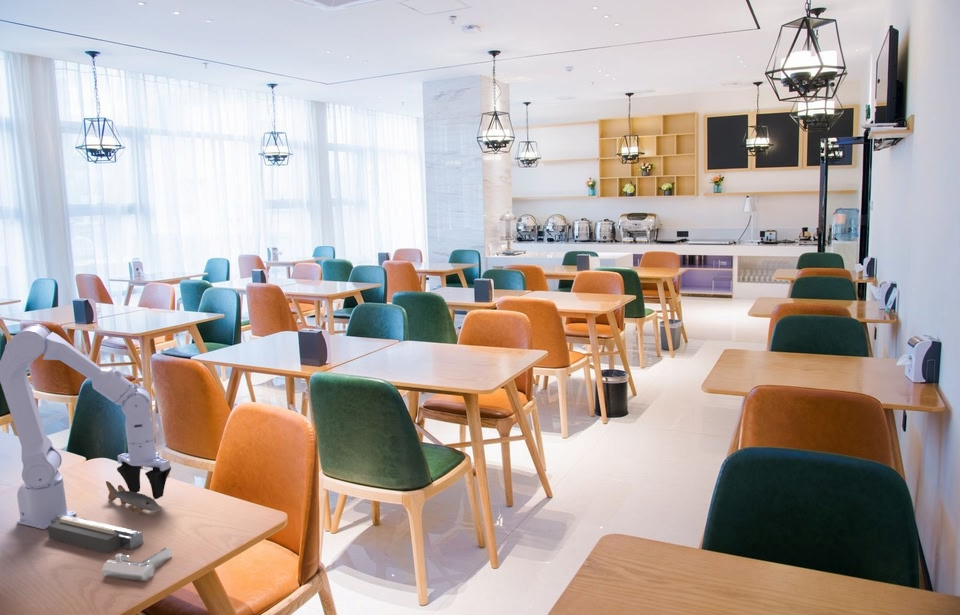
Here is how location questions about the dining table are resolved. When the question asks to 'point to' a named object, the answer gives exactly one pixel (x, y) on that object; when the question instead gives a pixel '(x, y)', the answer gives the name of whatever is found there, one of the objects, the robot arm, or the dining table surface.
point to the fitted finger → (84, 535)
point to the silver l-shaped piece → (135, 566)
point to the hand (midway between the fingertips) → (146, 495)
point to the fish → (132, 499)
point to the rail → (127, 536)
